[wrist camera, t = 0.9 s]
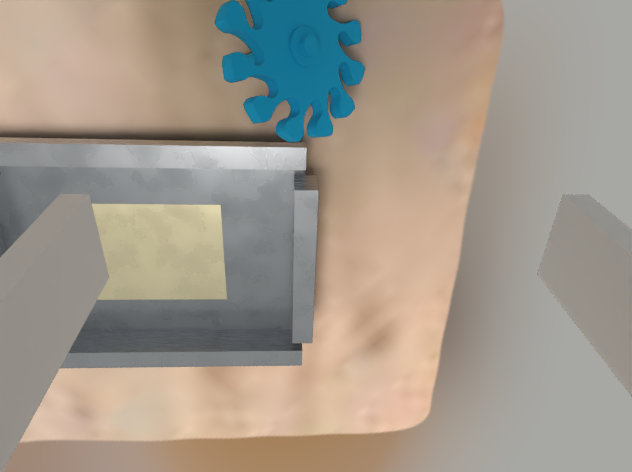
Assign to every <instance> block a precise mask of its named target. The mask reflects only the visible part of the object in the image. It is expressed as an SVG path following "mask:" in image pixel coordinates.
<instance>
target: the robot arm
mask: <svg viewBox="0 0 632 472" xmlns="http://www.w3.org/2000/svg"><path fill="white" fill-rule="evenodd" d="M538 276H539V277H540V278H541V280H542V281H543V282H544V283H545V285H546V286H547V287H548V289H549V290H550V291H551V293H552V294H553V295H554V296H555V298H556V299H557V300H558V302H559V303H560V304H561V306H562V307H563V308H564V309H565V311H566V312H567V313H568V315H569V316H570V317H571V318H572V320H573V321H574V322H575V324H576V325H577V326H578V328H579V329H580V330H581V331H582V333H583V334H584V335H585V337H586V338H587V339H588V341H589V342H590V343H591V344H592V346H593V347H594V348H595V350H596V351H597V352H598V353H599V355H600V356H601V357H602V359H603V360H604V361H605V363H606V364H607V365H608V367H609V368H610V369H611V370H612V372H613V373H614V374H615V376H616V377H617V378H618V379H619V381H620V382H621V383H622V385H623V386H624V387H625V389H626V390H627V391H628V392H629V394H630V395H631V396H632V229H630V228H629V227H628V226H627V225H625V224H624V223H623V222H622V221H621V220H619V219H618V218H617V217H616V216H614V215H613V214H612V213H610V212H609V211H608V210H607V209H606V208H605V207H603V206H602V205H601V204H600V203H598V202H597V201H596V200H595V199H593V198H592V197H591V196H590V195H562V198H561V201H560V204H559V207H558V211H557V214H556V217H555V220H554V223H553V226H552V230H551V232H550V236H549V239H548V242H547V245H546V248H545V251H544V255H543V258H542V261H541V264H540V267H539V270H538ZM108 279H109V274H108V270H107V266H106V261H105V257H104V253H103V249H102V245H101V241H100V236H99V232H98V228H97V224H96V220H95V216H94V211H93V207H92V203H91V199H90V195H89V194H60V195H59V196H58V197H57V198H56V199H55V200H54V201H53V202H52V203H51V204H50V205H49V206H48V207H47V208H46V209H45V210H44V212H43V213H42V214H41V215H40V216H39V217H38V218H37V219H36V220H35V221H34V222H33V223H32V224H31V225H30V226H29V228H28V229H27V230H26V231H25V232H24V233H23V234H22V235H21V236H20V237H19V238H18V239H17V240H16V241H15V242H14V243H13V245H12V246H11V247H10V248H9V249H8V250H7V251H6V252H5V253H4V254H3V255H2V256H1V257H0V472H3V471H4V469H5V467H6V465H7V463H8V461H9V459H10V458H11V456H12V454H13V452H14V451H15V449H16V447H17V445H18V443H19V441H20V440H21V438H22V436H23V434H24V432H25V430H26V429H27V427H28V425H29V423H30V421H31V420H32V418H33V416H34V414H35V412H36V410H37V409H38V407H39V405H40V403H41V401H42V399H43V398H44V396H45V394H46V392H47V390H48V389H49V387H50V385H51V383H52V381H53V379H54V378H55V376H56V374H57V372H58V370H59V368H60V367H61V365H62V363H63V361H64V359H65V358H66V356H67V354H68V352H69V350H70V348H71V347H72V345H73V343H74V341H75V339H76V337H77V336H78V334H79V332H80V330H81V328H82V327H83V325H84V323H85V321H86V319H87V317H88V316H89V314H90V312H91V310H92V308H93V306H94V305H95V303H96V301H97V299H98V297H99V296H100V294H101V292H102V290H103V288H104V286H105V285H106V283H107V281H108Z"/></svg>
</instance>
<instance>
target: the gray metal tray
mask: <svg viewBox="0 0 632 472" xmlns="http://www.w3.org/2000/svg"><path fill="white" fill-rule="evenodd" d="M306 154H307V146H306V143H297V142H240V141H182V140H125V139H68V138H10V137H0V257H1V256H2V255H3V254H4V253H5V252H6V251H7V250H8V249H9V248H10V247H11V246H12V245H13V243H14V242H15V241H16V240H17V239H18V238H19V237H20V236H21V235H22V234H23V233H24V232H25V231H26V230H27V229H28V228H29V226H30V225H31V224H32V223H33V222H34V221H35V220H36V219H37V218H38V217H39V216H40V215H41V214H42V213H43V212H44V210H45V209H46V208H47V207H48V206H49V205H50V204H51V203H52V202H53V201H54V200H55V199H56V198H57V197H58V196H59V195H60V194H89V195H90V199H91V203H92V207H93V211H94V216H95V220H96V224H97V228H98V232H99V236H100V241H101V245H102V249H103V253H104V257H105V261H106V266H107V270H108V274H109V279H108V281H107V283H106V285H105V286H104V288H103V290H102V292H101V294H100V296H99V297H98V299H97V301H96V303H95V305H94V306H93V308H92V310H91V312H90V314H89V316H88V317H87V319H86V321H85V323H84V325H83V327H82V328H81V330H80V332H79V334H78V336H77V337H76V339H75V341H74V343H73V345H72V347H71V348H70V350H69V352H68V354H67V356H66V358H65V359H64V361H63V363H62V365H61V367H60V368H123V367H207V366H290V365H302V343H312V338H313V313H314V289H315V265H316V241H317V217H318V193H319V190H318V183H317V176H316V175H305V170H306Z"/></svg>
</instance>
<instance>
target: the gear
mask: <svg viewBox="0 0 632 472" xmlns="http://www.w3.org/2000/svg"><path fill="white" fill-rule="evenodd" d="M245 1H246V3H247V5H248V7H249V9H250V12H251V16H252V19H253V23H254V27H253V28H251V27H250V25H249V24H248V22H247V18H246V15H245V12H244V9H243V8H242V6H241V5H240V4H239V3H238V2H237V1H235V0H231V1H229V2H227V3H225V4H223V5H222V6H221V7H220V9H219V11H218V13H217V16H216V20H215V25H216V27H217V28H218V29H219V30H220V31H222V32H224V33H229V34H232V35H235V36H237V37H238V38H240V39H241V40H242V41H243V42H244V43H245V44H246V45H247V46H248V47H249V48H250V50H251V51H252V52H253V53H249V54H246V55H244V54H243V53H240V52H234V53H231V54H228V55H225V56H223V60H222V68H223V74H224V79H225V80H226V81H227V82H230V83H233V82H237V81H241V80H245V79H246V78H248V77H254V78H258V79H260V80H263V81H265V82H266V84H267V85H268V88H269V95H268V97H266V96H256V97H251V98H248V99H247V100H246V101H245V102H244V108H245V110H246V113H247V115H248V116H249V118H250V119H251V121H252V122H253V123H261V122H266V121H268V120H269V119H270V118H271V117H272V114H273V112H274V110H275V108H276V107H277V105H278V104H279V103H281V102H282V101H284V100H287V101H288V103H289V104H290V108H291V112H290V115H289V116H288V117H287V118H285V119H282V120H280V121H279V122H278V123H277V125H276V133H277V135H278V136H279V137H281V138H282V139H284V140H286V141H288V142H299V141H300V140H301V139H302V137H303V122H304V116H305V113H306V111H307V109H308V107H309V105H310V104H311V105H312V108H313V115H312V117H311V119H310V121H309V122H308V125H307V133H308V136H310V137H325V136H331V135H332V133H333V126H332V123H331V120H330V117H329V114H328V94H329V93H330V95H331V103H330V112H331V114H332V116H333V117H334V118H343V117H347V116H348V115H350V114H351V113H352V111H353V110H354V109H355V105H354V102H353V100H352V98H350V97H349V96H348V94H347V93H346V92H345V90H344V88H343V86H342V83H341V80H340V76H339V69H340V73H341V77H342V80H343V82H344V83H345V84H346V85H347V86H351V85H357V84H360V82H361V80H362V77H363V74H364V69H365V68H364V66H363V65H362V63H361V62H358V61H354V60H352V59H350V58H349V57H348V56H347V55H346V54H345V53H344V51H343V50H342V48H341V47H340V45H339V42H338V38H339V40H340V41H341V43H342V44H343V45H345V46H350V45H354V44H358V43H360V41H361V28H360V23H359V22H358V21H356V20H353V21H350V22H347V23H343V24H341V23H338V22H336V21H334V20H333V19H331V18H330V16H329V15H328V11H327V7H329V8H335V7H338V6H341V5H344V4H345V3H346V2H347V0H245Z"/></svg>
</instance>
